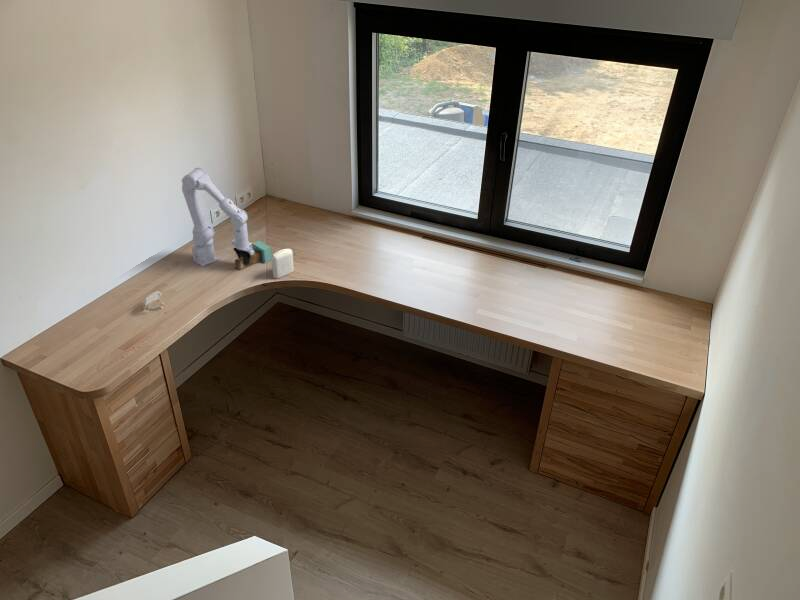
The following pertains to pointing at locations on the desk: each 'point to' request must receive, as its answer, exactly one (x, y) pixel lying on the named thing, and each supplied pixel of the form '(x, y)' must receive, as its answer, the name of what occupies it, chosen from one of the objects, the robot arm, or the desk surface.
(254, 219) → the desk surface
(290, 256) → the photo printer
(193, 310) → the desk surface
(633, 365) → the desk surface
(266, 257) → the teal angular block
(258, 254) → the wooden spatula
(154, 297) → the origami figure
